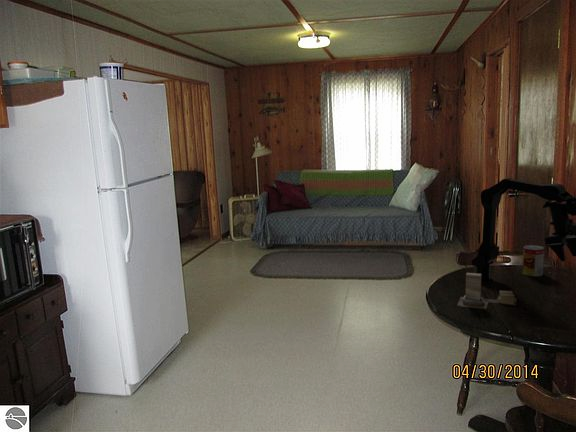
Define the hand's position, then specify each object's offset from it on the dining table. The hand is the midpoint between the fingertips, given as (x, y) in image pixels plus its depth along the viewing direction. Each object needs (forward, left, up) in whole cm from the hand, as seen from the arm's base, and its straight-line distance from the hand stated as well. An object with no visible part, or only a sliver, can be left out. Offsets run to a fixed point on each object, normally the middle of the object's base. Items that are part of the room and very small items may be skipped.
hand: (569, 258), depth 173 cm
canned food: (-31, +1, -16) cm, 34 cm away
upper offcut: (+3, -23, -13) cm, 27 cm away
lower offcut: (+3, -23, -15) cm, 28 cm away
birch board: (+3, -36, -15) cm, 39 cm away
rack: (+3, -31, -15) cm, 35 cm away
